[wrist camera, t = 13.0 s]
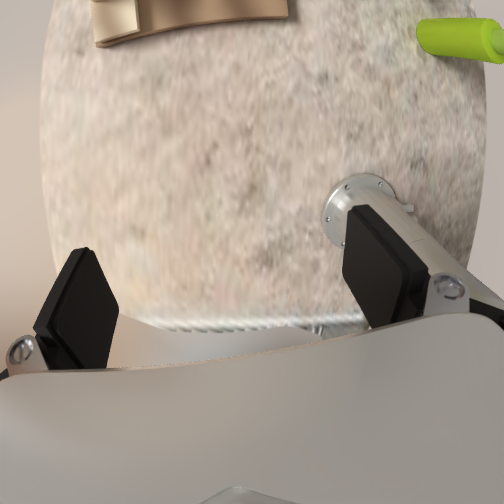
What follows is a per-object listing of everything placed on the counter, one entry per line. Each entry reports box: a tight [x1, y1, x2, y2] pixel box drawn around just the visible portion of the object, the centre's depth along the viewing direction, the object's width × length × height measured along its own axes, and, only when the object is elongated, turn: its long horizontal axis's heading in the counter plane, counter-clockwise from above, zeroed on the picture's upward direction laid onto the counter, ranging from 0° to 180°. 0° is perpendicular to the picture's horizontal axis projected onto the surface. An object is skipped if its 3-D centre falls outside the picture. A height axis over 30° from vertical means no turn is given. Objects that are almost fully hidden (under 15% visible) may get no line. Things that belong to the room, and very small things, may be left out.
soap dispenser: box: [416, 18, 504, 64], centre depth 20 cm, size 6×7×20 cm
